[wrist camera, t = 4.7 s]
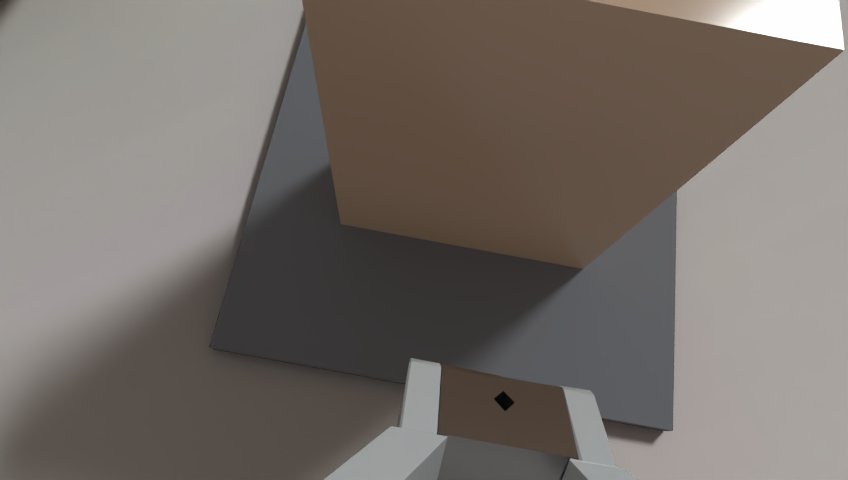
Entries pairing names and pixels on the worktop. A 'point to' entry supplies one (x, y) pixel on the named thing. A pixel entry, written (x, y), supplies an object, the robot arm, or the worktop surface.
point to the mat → (441, 290)
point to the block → (545, 109)
